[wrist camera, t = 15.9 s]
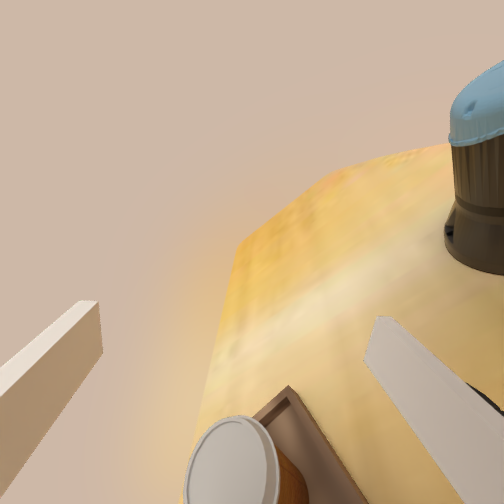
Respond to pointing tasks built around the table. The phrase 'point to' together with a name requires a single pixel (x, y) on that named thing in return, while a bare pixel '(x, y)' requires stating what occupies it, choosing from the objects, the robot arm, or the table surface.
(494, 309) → the table surface
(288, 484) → the disposable coffee cup
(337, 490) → the walnut tray
